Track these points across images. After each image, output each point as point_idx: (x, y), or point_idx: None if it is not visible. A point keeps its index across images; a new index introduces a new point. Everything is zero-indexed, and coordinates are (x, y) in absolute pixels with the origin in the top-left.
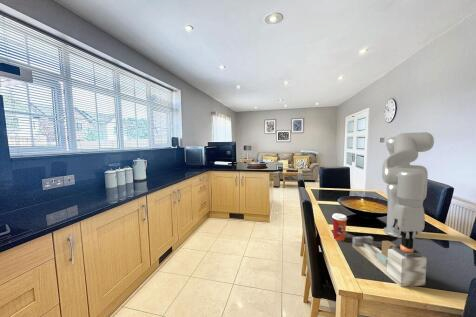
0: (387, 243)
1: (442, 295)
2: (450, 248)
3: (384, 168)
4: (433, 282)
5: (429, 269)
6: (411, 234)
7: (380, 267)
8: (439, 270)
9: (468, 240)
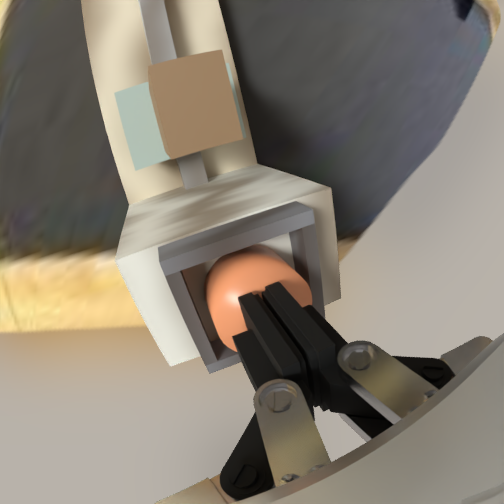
0: (175, 112)
1: None
2: (466, 26)
3: None
4: None
5: (356, 117)
6: (360, 426)
7: (116, 161)
8: (383, 123)
9: (498, 18)
